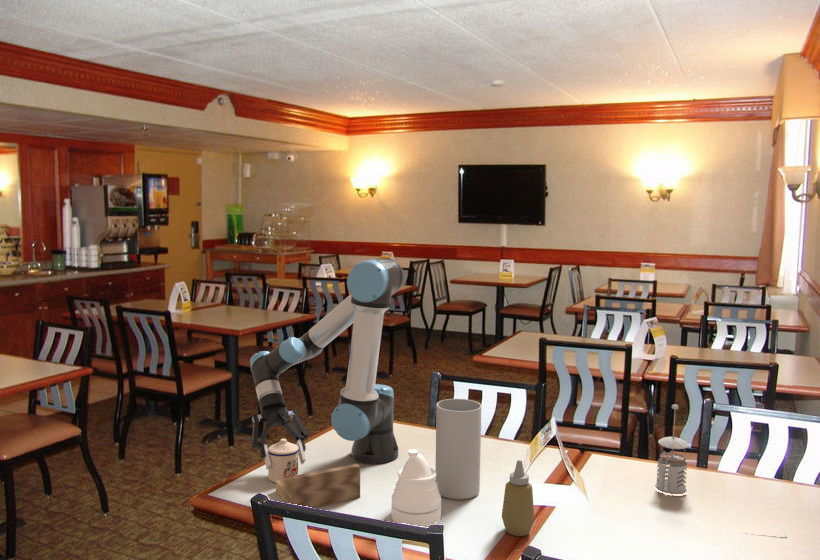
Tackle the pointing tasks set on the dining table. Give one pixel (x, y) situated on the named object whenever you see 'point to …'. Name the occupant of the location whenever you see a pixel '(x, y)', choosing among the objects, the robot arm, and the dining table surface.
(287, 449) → the teacup with lid
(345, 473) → the cleat board
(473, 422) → the cylinder vase
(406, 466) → the honey pot
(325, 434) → the dining table surface
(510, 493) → the squeeze bottle
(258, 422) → the robot arm
